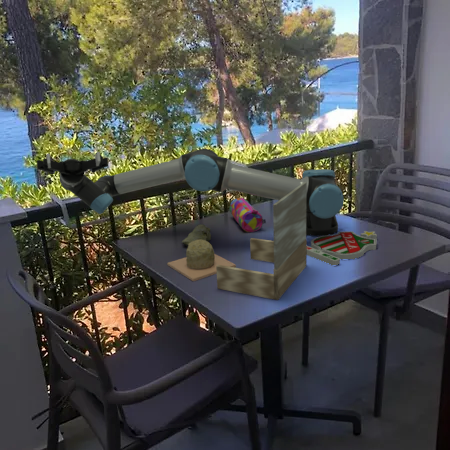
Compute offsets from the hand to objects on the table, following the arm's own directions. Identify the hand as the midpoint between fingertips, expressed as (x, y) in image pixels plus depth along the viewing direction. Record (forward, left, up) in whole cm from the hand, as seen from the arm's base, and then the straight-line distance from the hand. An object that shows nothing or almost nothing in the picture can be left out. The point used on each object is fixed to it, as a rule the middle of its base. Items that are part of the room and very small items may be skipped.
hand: (74, 157), depth 134 cm
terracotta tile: (-34, -6, -38) cm, 51 cm away
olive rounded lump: (-34, -6, -38) cm, 51 cm away
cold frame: (-52, +5, -38) cm, 65 cm away
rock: (-32, -27, -39) cm, 57 cm away
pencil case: (-52, -44, -39) cm, 78 cm away
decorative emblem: (-83, -15, -39) cm, 93 cm away
